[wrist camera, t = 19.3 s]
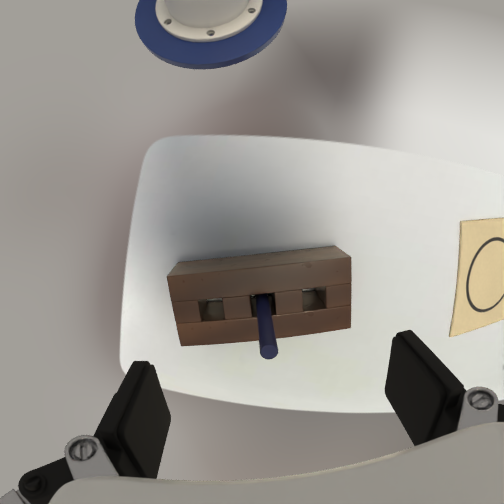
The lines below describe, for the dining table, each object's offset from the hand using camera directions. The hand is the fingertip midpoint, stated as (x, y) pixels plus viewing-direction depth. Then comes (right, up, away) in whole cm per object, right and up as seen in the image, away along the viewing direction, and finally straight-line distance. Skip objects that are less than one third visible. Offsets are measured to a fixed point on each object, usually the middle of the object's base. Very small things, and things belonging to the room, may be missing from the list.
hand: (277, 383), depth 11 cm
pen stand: (0, +1, +21) cm, 21 cm away
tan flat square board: (+33, +2, +22) cm, 39 cm away
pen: (0, +1, +22) cm, 22 cm away
